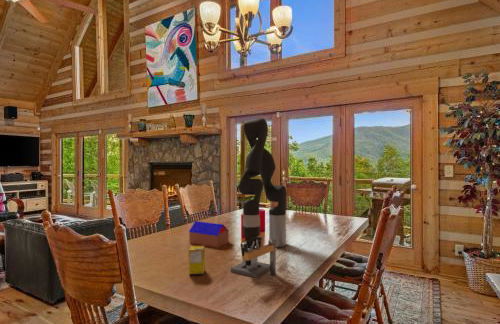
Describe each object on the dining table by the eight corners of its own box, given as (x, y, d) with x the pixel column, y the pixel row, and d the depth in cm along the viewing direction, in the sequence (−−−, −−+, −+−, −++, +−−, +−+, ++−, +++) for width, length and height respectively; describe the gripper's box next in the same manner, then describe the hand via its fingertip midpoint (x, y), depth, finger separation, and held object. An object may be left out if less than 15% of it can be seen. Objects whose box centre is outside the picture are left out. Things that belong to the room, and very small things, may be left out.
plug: (249, 266, 140) (249, 246, 139) (259, 269, 137) (259, 248, 137) (243, 270, 135) (243, 249, 135) (253, 272, 133) (253, 251, 132)
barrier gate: (242, 285, 119) (242, 249, 118) (272, 271, 133) (271, 239, 133) (250, 288, 116) (249, 251, 116) (278, 273, 131) (278, 240, 130)
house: (217, 248, 170) (217, 226, 169) (188, 243, 179) (188, 223, 179) (229, 242, 180) (229, 222, 180) (201, 238, 190) (201, 219, 190)
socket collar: (247, 262, 145) (247, 259, 145) (271, 268, 138) (271, 264, 138) (230, 271, 134) (230, 268, 134) (256, 277, 127) (256, 274, 127)
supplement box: (205, 270, 136) (204, 245, 136) (203, 275, 130) (203, 249, 130) (191, 270, 136) (191, 245, 136) (189, 275, 130) (188, 249, 130)
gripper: (252, 220, 144) (253, 257, 144) (234, 226, 132) (235, 266, 132) (266, 222, 140) (267, 260, 140) (249, 228, 128) (250, 270, 128)
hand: (251, 263), depth 136 cm, fingers closed on plug, 5 cm apart
